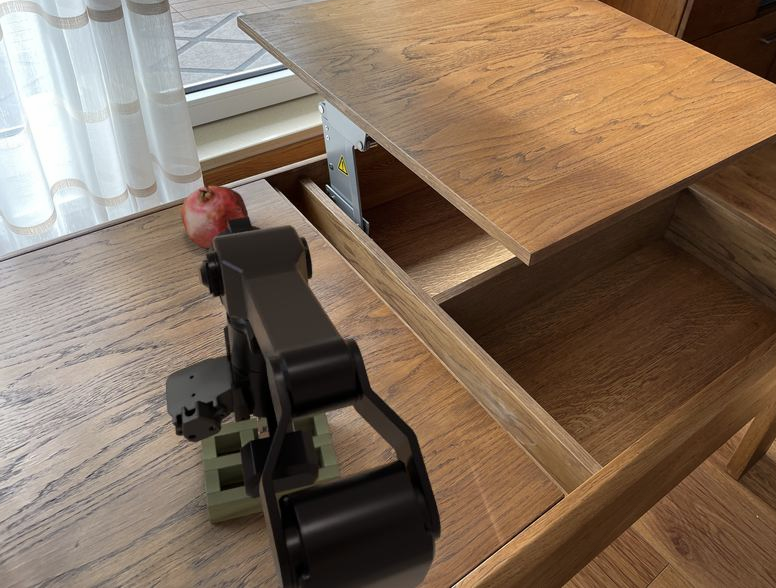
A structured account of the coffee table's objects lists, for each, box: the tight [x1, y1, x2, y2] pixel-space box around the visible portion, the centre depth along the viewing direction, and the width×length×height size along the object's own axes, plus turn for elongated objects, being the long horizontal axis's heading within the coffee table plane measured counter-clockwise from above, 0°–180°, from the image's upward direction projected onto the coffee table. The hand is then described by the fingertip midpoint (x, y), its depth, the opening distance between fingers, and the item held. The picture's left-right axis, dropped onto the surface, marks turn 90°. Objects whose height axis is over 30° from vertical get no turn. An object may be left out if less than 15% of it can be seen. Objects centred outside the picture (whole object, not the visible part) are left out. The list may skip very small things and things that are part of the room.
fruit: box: [180, 183, 249, 249], centre depth 102 cm, size 9×10×10 cm
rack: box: [200, 412, 342, 525], centre depth 77 cm, size 9×13×4 cm
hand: (271, 447), depth 72 cm, fingers open, 9 cm apart
